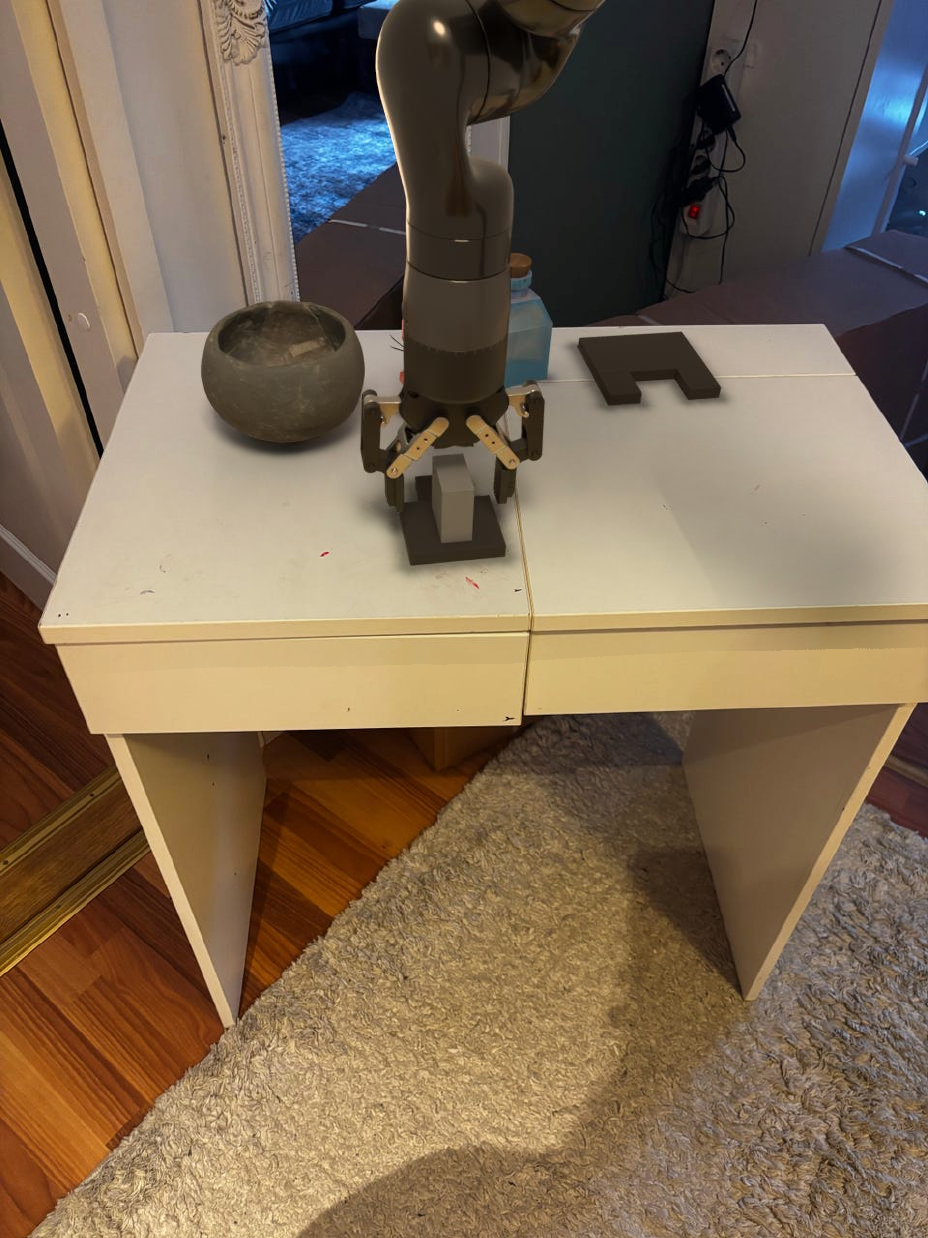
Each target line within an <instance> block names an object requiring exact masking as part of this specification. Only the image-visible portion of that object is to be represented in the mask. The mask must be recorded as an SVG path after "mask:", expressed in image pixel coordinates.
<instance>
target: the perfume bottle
mask: <svg viewBox="0 0 928 1238" xmlns="http://www.w3.org/2000/svg"><path fill="white" fill-rule="evenodd" d="M531 265H532V259H531V257H529V256H528V255H525V254H523V253H518V252H515V253H514V252H511V255H510V278H511V306H510V319H509V331H508V345H507V358H506V370H505V382H504V387H505V389H508V388H511V387H512V388H513V387H515V386H520V385H523V384H524V382H526V381H527V380H535V381H536V382H537V381H542V380H546V379H547V378H548V370H549V361H550V352H551V342H552V335H553V334H552V333H553V325H554V323H553V321H552V319H551V317H550V315H549V313H548V311H547V309H546V307H545V304H544V303H543V300H542V298H541V296H539V295H538V294H537V293H536V292H535V291H533V290H532V289H531V288H530V286H531V285H532V277H533V273H532V270H531V269H530V268H531Z"/></svg>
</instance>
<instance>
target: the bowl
mask: <svg viewBox="0 0 928 1238" xmlns="http://www.w3.org/2000/svg"><path fill="white" fill-rule="evenodd" d="M200 364H201V365H200V378H201V384H202V387H203V391H204V394H205V396H206V398H207V401H208V403H209V404H210V406H211V408H212V409H213V410H214V412H215V413H216V414H217V415H218V417H220V418H221V419H222V420H223V421H224V422H225V423H226V424H227V425H229V426H231V427H232V428H234V429H235V430H237V431H239V432H241V433H243V434H245V435H247V436H249V437H251V438H254V439H257V440H260V441H265V442H269V443H281V444H283V443H284V444H285V443H296V442H301V441H302V442H303V441H309V440H312V439H314V438H317V437H321V436H323V435H325V434H329V432H332V431H333V430H336V429H337V428H339V427H340V426H342V425H343V424H344V423H346V422H347V421H348V419H349V418H351V416H352V414H353V413H354V412H355V410H356V408H357V406H358V404H359V402H360V398H361V396H362V393H363V392H362V391H363V387H364V382H365V376H366V366H365V365H366V364H365V356H364V352H363V347H362V344H361V341H360V340H359V337H358V335H357V333H356V331H355V329H354V327H353V325H352V324H351V322H350V321H349V320H348V319H347V318H345V316H343V315H342V314H340V313H339V312H337V311H335V310H334V309H331V308H329V307H326V306H324V305H319V304H316V303H314V302H312V301H308V302H306V301H301V300H299V301H298V300H285V299H284V300H283V299H282V300H280V299H279V300H278V299H277V300H273V301H271V300H268V301H260V302H256V303H253V304H250V305H249V306H245V307H242V308H239V309H237V310H235V311H232V312H231V313H229V314H227V315H225V316H224V317H222V318H221V319H220V320H218V321H217V322H216V323H215V324H214V325H213V327H212V328H211V329H210V332H209V333H208V335H207V336H206V339H205V342H204V346H203V350H202V355H201V362H200Z"/></svg>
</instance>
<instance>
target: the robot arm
mask: <svg viewBox="0 0 928 1238" xmlns="http://www.w3.org/2000/svg"><path fill="white" fill-rule="evenodd" d="M607 1H608V0H398V1H396V3H394V5H393V6H392V7H391V9H390V10H389V11H388V13H387V15H386V17H385V19H384V21H383V23H382V26H381V30H380V32H379V36H378V39H377V46H376V53H375V72H376V83H377V87H378V88H377V89H378V92H379V97H380V100H381V105H382V107H383V111H384V114H385V119H386V122H387V126H388V129H389V133H390V137H391V140H392V144H393V148H394V149H393V150H394V153H395V157H396V161H397V165H398V169H399V174H400V178H401V182H402V186H403V190H404V194H405V200H406V211H405V212H406V213H405V214H406V216H405V217H406V218H405V238H406V241H405V243H406V244H405V245H406V246H405V249H406V253H405V254H406V259H405V271H404V279H403V286H402V302H401V316H402V319H403V340H402V343H403V344H402V345H403V347H402V350H403V351H402V352H403V353H402V354H403V370H404V384H402V388H401V390H400V391H399V393H398V395H378V393H377V391H376V390H374V389H370V388H369V389H368V388H367V389H365V390H364V391H363V392H361V401H360V402H361V405H360V445H359V447H360V448H359V450H360V455H361V461H362V465H363V466H362V467H363V470H364V471H365V472H366V473H367V474H374V473H376V472H379V473H382V474H383V478H384V479H383V480H384V496H385V500H386V503H387V505H388V507H389V508H394V511H395V514H398V513H399V514H400V512H404V511H405V508H404V502H405V475H404V472H405V471H406V470H407V468H408V467H409V466H410V465H411V464H412V463H413V462H417V461H418V460H420V458H421V457H422V456H423V455H424V453H425V452H426V451H428V449H429V448H430V447H433V448H434V450H445V449H448V448H452V447H459V448H472V447H473V448H474V447H475V444H477V443H480V441H481V443H483V445H484V446H485V447H486V448H487V450H489V452H490V453H491V454H492V455H493V456H495V459H494V460H495V463H494V471H493V472H494V474H493V487H492V488H493V495H494V498H495V501H496V504H497V505H498V506H499V505H500V506H501V505H507V503H508V499H509V498H513V496H514V494H515V492H516V482H517V472H518V467H519V466H520V464H521V463H523V462H525V461H527V460H529V461H531V462H536V461H539V460H540V459H541V458H542V456H543V451H544V450H543V448H544V430H545V429H544V428H545V427H544V426H545V405H546V401H545V397H544V396H543V393H542V391H541V389H540V387H539V385H538V382H537V381H535V380H527V381H526V382H524V384H522V386H521V387H512V388H505V387H504V382H505V370H506V358H507V345H508V331H509V319H510V306H511V278H510V255H511V253H512V240H513V227H514V216H515V215H514V214H515V190H514V189H515V188H514V182H513V179H512V176H511V175H510V172H509V171H507V169H506V168H505V167H504V166H503V165H501V164H500V163H498V162H496V161H494V160H491V159H489V158H485V157H481V156H475V155H470V154H468V153H469V152H468V149H467V144H466V143H467V142H466V134H467V133H466V132H467V127H471V126H476V125H479V124H482V123H486V122H490V121H495V120H500V119H503V118H508V117H510V116H511V117H512V116H514V115H516V114H518V113H520V112H522V111H523V110H525V109H526V108H528V107H530V106H531V105H533V103H536V101H537V100H539V99H540V98H541V97H542V96H543V95H544V94H545V93H547V91H548V90H549V89H550V87H552V86H553V85H554V83H555V81H556V80H557V78H558V77H559V75H560V74H561V72H562V71H563V69H564V67H565V65H566V63H567V62H568V59H569V58H570V56H571V55H572V52H573V50H574V49H575V47H576V46H577V44H578V43H579V40H580V39H581V36H582V34H583V33H584V30H585V28H586V25H587V24H588V21H589V19H590V17H592V16H593V15H594V14H595V13H596V12H597V11H598V10H599V9H600V8H601V7H602V6H603V5H604V4H605V3H606V2H607ZM510 406H511V407H513V408H514V409H515V412H516V414H517V415H518V416H519V417H521V420H520V421H521V423H520V437H519V438H517V439H515V440H512V439H511V438H510V437H509V435H507V434H506V432H505V431H504V430H503V429H502V427H501V426H500V424H499V422H498V421H500V419H501V418H502V417H503V416H504V415H505V413H507V411H508V409H509V407H510ZM397 414H399V416H400V417H401V418H402V419H403V421H404V422H403V423H402V424H401V426H399V428H398V430H397V434H396V436H395V437H394V438H393V440H392V441H391V442H390V443H389V444H388V446H387V447H386V449H384V448H381V428H383V429H385V428H386V427H387V426H388V425H389V423H390V421H391V419H392V417H393V416H394V415H397Z"/></svg>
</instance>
